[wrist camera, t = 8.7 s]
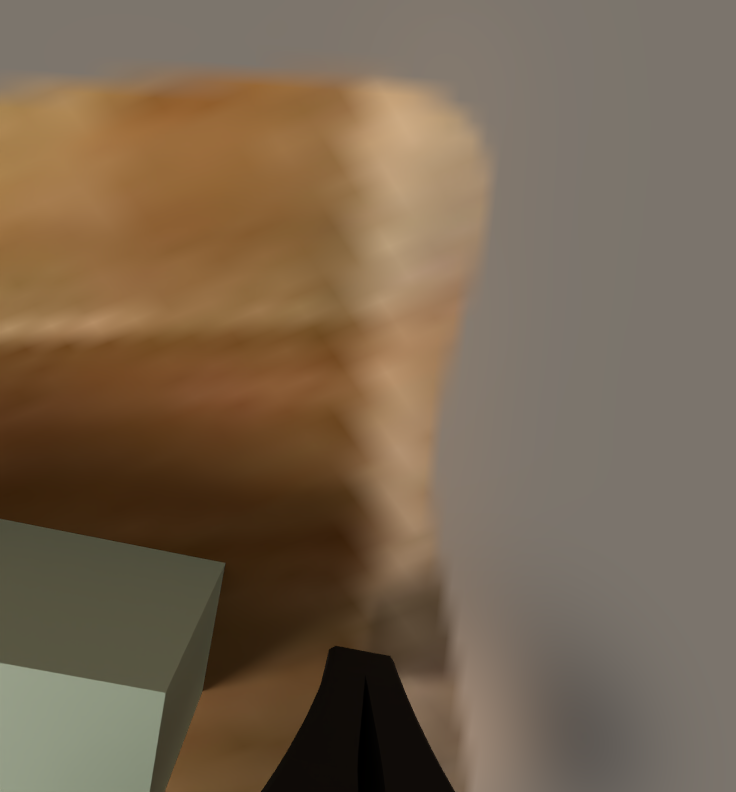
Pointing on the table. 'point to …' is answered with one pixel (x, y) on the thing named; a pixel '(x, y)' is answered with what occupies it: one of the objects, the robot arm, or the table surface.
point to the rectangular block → (98, 659)
